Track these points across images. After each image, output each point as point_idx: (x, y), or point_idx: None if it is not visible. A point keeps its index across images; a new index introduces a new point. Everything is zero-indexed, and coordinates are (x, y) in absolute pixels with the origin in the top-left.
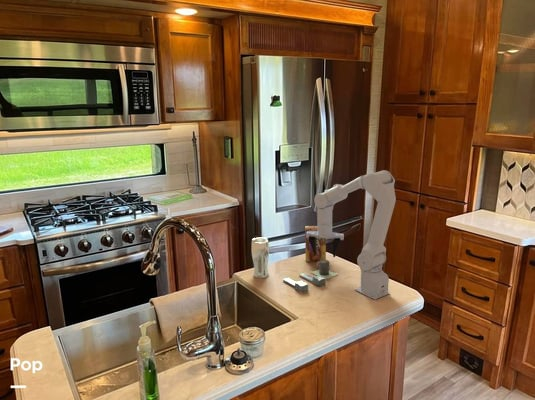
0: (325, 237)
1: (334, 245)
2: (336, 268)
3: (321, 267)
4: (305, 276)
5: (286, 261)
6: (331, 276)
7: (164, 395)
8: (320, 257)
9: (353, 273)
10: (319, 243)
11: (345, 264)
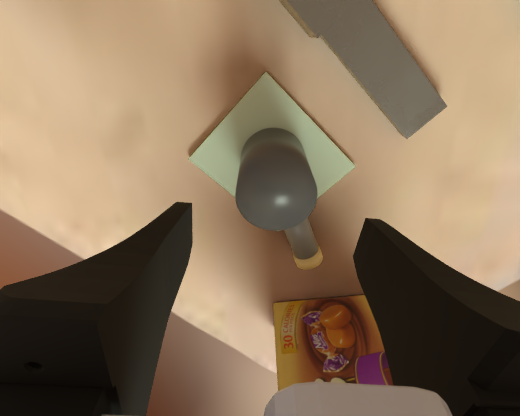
0: (280, 414)
1: (118, 272)
2: (210, 242)
3: (295, 149)
4: (407, 70)
5: None
6: (222, 120)
7: None
8: (302, 319)
9: (104, 195)
10: None
11: None
